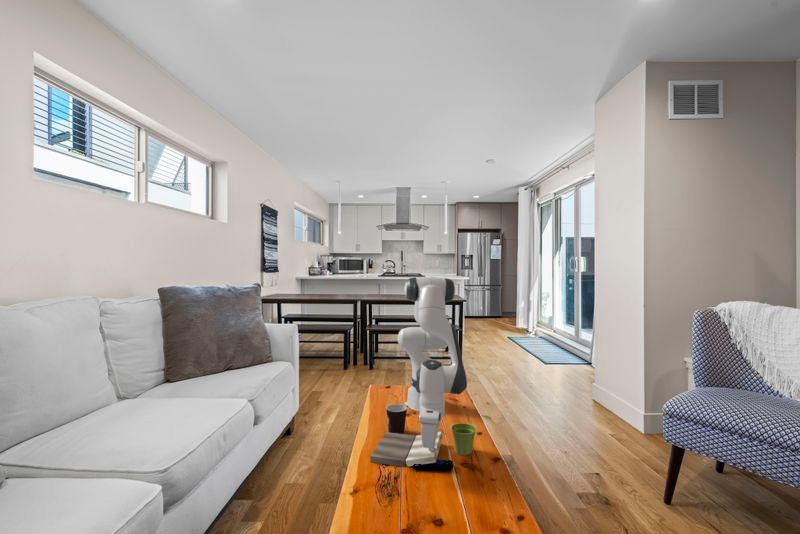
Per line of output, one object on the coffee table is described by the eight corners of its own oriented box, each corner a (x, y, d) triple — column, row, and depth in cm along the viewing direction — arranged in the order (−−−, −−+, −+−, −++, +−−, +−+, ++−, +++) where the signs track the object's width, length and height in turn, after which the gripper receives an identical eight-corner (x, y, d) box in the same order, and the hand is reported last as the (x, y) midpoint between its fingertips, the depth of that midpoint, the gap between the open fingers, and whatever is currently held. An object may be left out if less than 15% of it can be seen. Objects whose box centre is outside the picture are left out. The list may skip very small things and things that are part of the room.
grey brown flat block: (385, 437, 146) (385, 432, 146) (415, 440, 143) (415, 435, 143) (370, 462, 127) (370, 456, 127) (404, 466, 124) (404, 460, 124)
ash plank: (417, 440, 143) (416, 435, 143) (442, 436, 141) (441, 431, 141) (407, 466, 124) (405, 460, 124) (435, 462, 122) (434, 456, 122)
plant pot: (476, 459, 129) (476, 434, 129) (449, 456, 131) (449, 431, 131) (477, 447, 138) (477, 424, 138) (451, 444, 140) (451, 421, 141)
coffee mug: (404, 437, 146) (404, 412, 146) (383, 435, 147) (383, 410, 148) (409, 426, 157) (410, 402, 157) (390, 424, 159) (390, 401, 159)
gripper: (427, 398, 138) (427, 436, 138) (418, 419, 118) (417, 462, 118) (444, 400, 137) (444, 437, 136) (437, 420, 117) (437, 465, 116)
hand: (431, 449), depth 127 cm, fingers closed, pressing on ash plank
